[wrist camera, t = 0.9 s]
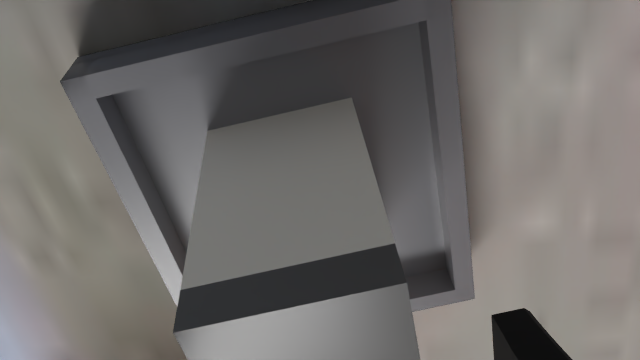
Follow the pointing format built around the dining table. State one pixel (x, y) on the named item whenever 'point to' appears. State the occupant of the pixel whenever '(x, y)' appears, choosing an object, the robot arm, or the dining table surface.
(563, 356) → the robot arm
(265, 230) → the plug
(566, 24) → the dining table surface
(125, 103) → the tray
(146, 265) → the dining table surface
